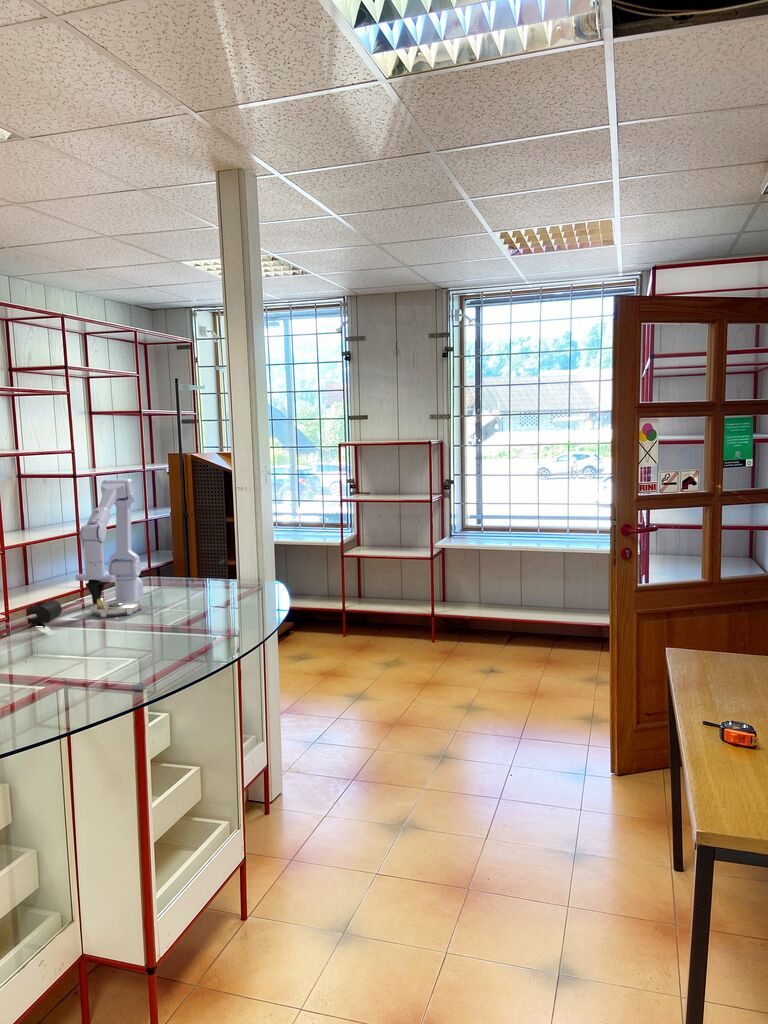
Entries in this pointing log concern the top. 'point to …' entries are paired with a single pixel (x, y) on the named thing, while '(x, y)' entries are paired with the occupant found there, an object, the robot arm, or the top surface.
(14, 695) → the top surface
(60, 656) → the top surface
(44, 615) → the electric motor
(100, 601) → the lugged metal disc
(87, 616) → the base plate
